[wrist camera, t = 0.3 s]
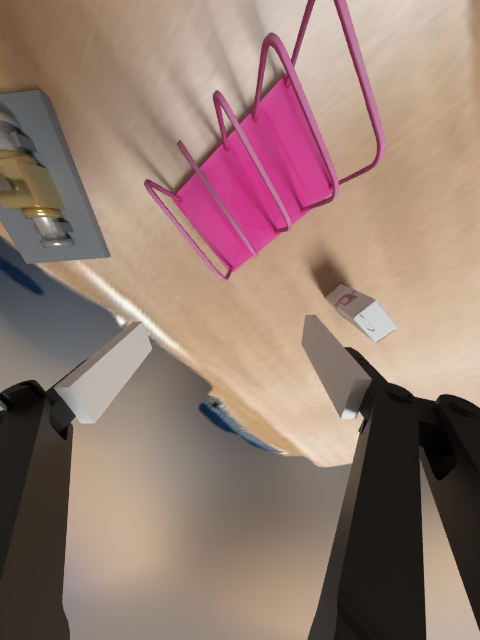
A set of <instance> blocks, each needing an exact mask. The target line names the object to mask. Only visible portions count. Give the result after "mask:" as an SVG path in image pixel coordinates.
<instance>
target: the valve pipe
mask: <svg viewBox="0 0 480 640" xmlns="http://www.w3.org/2000/svg"><path fill="white" fill-rule="evenodd" d="M20 130H21V129H20V127H19V125H18V123H17V121H16V119H15V117H14V116H13V115H11V114H10V113H8V112H6V111H4V110H1V109H0V173H3V175H4V176H5V177H6V178H8V179H9V180H10V181H11V183H12V184H13V187H14V190H13V191H12V192H6V191H0V203H1V205H2V206H3V208H4V209H10V210H19V211H22V212H23V214H24V216H25V218H26V219H30V220H33V222H34V224H32V226H33V228H34V230H35V232H36V234H40V235H41V237H42V239H43V240H42V241H40V242H41V244H42V246H43V248H48V247H61V246H73V245H74V243H73V241H72V239H68V237H67V235H66V233H68V232H74V231H73V229H72V226H71V224H70V223H63V222H60V220H59V219H64V218H63V216H62V214H61V212H60V210H66V209H65V206H64V204H63V202H62V200H61V197H60V195H59V193H58V191H57V189H56V186H55V184H54V182H53V180H52V177H51V175H50V173H49V171H48V169H46V168H43V167H40V166H39V164H38V162H37V160H36V158H35V157H33V156H31V155H28V154H30V153H38V151H37V149H36V147H35V145H34V143H33V140H32V139H29V138H27V137H25V136H23V135H20V134H18V132H17V131H20Z"/></svg>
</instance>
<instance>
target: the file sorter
mask: <svg viewBox="0 0 480 640" xmlns="http://www.w3.org/2000/svg"><path fill="white" fill-rule="evenodd" d="M314 2H315V0H308V2H307V6H306V9H305V12H304V16H303V19H302V23H301V27H300V30H299V34H298V37H297V41H296V44H295V48H294V51H293V55H292V58H291V60H290V58H289V55H288V53H287V51H286V49H285V47H284V45H283V43H282V41H281V40H280V38H279V37H278V36H277V35H276V34H274V33H269V34H268V35H267V36H266V38H265V39H264V41H263V44H262V49H261V56H260V64H259V71H258V80H257V88H256V96H255V105H254V109H253V110H252V111H251V112H250V113H249V114H248V115H247V117H246V118H245V119H244V120H243V121H242V122H241V123H240V124H239V122H238V121H237V119H236V117H235V115H234V113H233V111H232V110H231V108H230V106H229V104H228V103H227V101H226V100H225V98H224V97H223V95H222V94H221V93H220V92H219V91H218V90H216V91H215V93H214V94H213V100H214V105H215V109H216V114H217V118H218V122H219V126H220V130H221V135H222V139H223V143H222V144H221V145H220V146H219V147H218V148H217V149H216V151H215V152H214V153H213V154H212V155H211V156H210V157H209V158H208V159H207V161H206V162H205V163H204V164H203V165H202V166H201V167H200V168H199V167H198V166H197V164H196V163H195V161H194V160H193V158H192V157H191V155H190V154H189V153H188V151H187V150H186V148H185V146H184V145H183V144H182V142H181V141H180V140H179V141H178V143H177V145H178V146H179V148H180V149H181V151H182V152H183V154H184V155H185V157H186V158H187V160H188V161H189V163H190V164H191V166H192V167H193V169H194V170H195V174H194V175H193V176H192V177H191V178H190V179H189V180H188V181H187V182H186V183H185V185H184V186H183V187H182V188H181V189H180V190H179V191H178V192H177V193H176V195H175V194H173V193H171V192H170V191H168V190H166V189H164V188H163V187H161V186H159V185H158V184H156V183H154V182H152V181H151V180H148V179H146V180H145V182H144V185H145V187H146V189H147V191H148V192H149V194H150V195H151V196H152V198H153V199H154V200H155V201H156V203H157V204H158V205H159V206H160V208H161V209H162V210H163V211H164V213H165V214H166V215H167V216H168V217H169V219H170V220H171V221H172V222H173V224H174V225H175V226H176V227H177V228H178V230H179V231H180V232H181V233H182V235H183V236H184V237H185V238H186V240H187V241H188V242H189V243H190V244H191V246H192V247H193V248H194V249H195V251H196V252H197V253H198V254H199V256H200V257H201V258H202V259H203V260H204V262H205V263H206V264H207V265H208V267H209V268H210V269H211V270H212V271H213V272H214V274H215V275H216V276H217V277H218V278H220V279H221V280H222V281H227V280H228V279H229V277H230V274H231V273H232V272H234V271H235V270H236V269H237V268H239V267H240V266H241V265H242V264H244V263H245V262H246V261H247V260H249V259H250V258H251V257H252V256H254V257H255V258H257V257H258V255H257V252H259V251H260V250H261V249H263V248H264V247H265V246H266V245H267V244H269V243H270V242H271V241H272V240H274V239H275V238H276V237H277V236H279V235H280V234H281V233H283V232H285V231H288V230H290V229H291V227H292V225H293V224H294V223H295V222H296V221H298V220H299V219H300V218H301V217H303V216H304V215H305V214H306V213H308V212H309V211H310V210H311V209H313V208H315V207H318V206H321V205H324V204H327V203H329V202H331V201H333V200H334V199H335V198H336V197H337V195H338V191H339V185H340V184H342V183H345V182H347V181H349V180H351V179H353V178H355V177H357V176H359V175H361V174H364V173H365V172H367V171H369V170H371V169H372V168H374V167H375V166H376V165H377V164H378V163H379V162H380V160H381V159H382V156H383V153H384V148H385V137H384V132H383V128H382V124H381V120H380V117H379V113H378V110H377V106H376V103H375V99H374V96H373V92H372V89H371V85H370V82H369V79H368V75H367V72H366V68H365V65H364V61H363V58H362V54H361V51H360V47H359V44H358V40H357V37H356V34H355V30H354V27H353V24H352V20H351V17H350V13H349V10H348V7H347V3H346V0H334V3H335V6H336V9H337V12H338V15H339V18H340V21H341V24H342V28H343V31H344V35H345V38H346V41H347V44H348V48H349V51H350V54H351V57H352V60H353V64H354V67H355V70H356V73H357V76H358V79H359V82H360V86H361V89H362V92H363V95H364V99H365V102H366V107H367V110H368V113H369V116H370V120H371V123H372V126H373V130H374V133H375V136H376V141H377V154H376V158H375V160H374V161H373V163H372V164H370V165H368V166H366V167H365V168H363V169H361V170H359V171H357V172H355V173H353V174H352V175H349V176H348V177H346V178H344V179H342V180H340V181H338V178H337V174H336V171H335V169H334V166H333V164H332V161H331V159H330V156H329V154H328V151H327V149H326V146H325V144H324V141H323V139H322V136H321V134H320V131H319V129H318V126H317V124H316V121H315V119H314V116H313V114H312V111H311V109H310V106H309V104H308V101H307V99H306V97H305V94H304V92H303V89H302V87H301V84H300V82H299V79H298V77H297V74H296V72H295V70H294V66H295V63H296V60H297V56H298V53H299V50H300V47H301V43H302V40H303V37H304V34H305V30H306V27H307V24H308V21H309V18H310V15H311V11H312V8H313V5H314ZM269 46H272V47H273V48H274V49H275V50H276V52H277V54H278V56H279V58H280V60H281V62H282V64H283V66H284V68H285V71H286V74H285V75H284V76H283V77H282V78H281V79H280V80H279V81H278V83H277V84H276V85H275V86H274V87H273V88H272V89H271V90H270V91H269V92H268V93H267V95H266V96H265V97H264V98H263V99H262V100H261V101H260V96H261V90H262V83H263V77H264V70H265V64H266V57H267V52H268V47H269ZM220 105H221V106H222V108H223V109H224V111H225V113H226V114H227V116H228V118H229V120H230V121H231V123H232V125H233V127H234V128H235V130H234V131H233V132H232V133H231V134H230V135H229V136H228V137H226V132H225V127H224V122H223V117H222V111H221V106H220ZM152 187H153V188H155V189H157V190H158V191H160V192H162V193H164V194H166V195H168V196H170V197H172V198H173V201H174V202H175V203H176V205H177V206H178V207H179V209H180V210H181V211H182V212H183V214H184V215H185V216H186V218H187V219H188V220H189V221H190V223H191V224H192V225H193V226H194V228H195V229H196V230H197V232H198V233H199V234H200V235H201V237H202V238H203V239H204V240H205V242H206V243H207V244H208V246H209V247H210V248H211V249H212V251H213V252H214V253H215V254H216V256H217V257H218V258H219V259H220V261H221V262H222V263H223V265H224V266H225V267H226V268H227V270H228V273H227V275H226V277H224V276H223V275H222V274H220V273H219V272H218V271H217V269H216V268H215V267H214V266H213V264H212V263H211V262H210V261H209V260H208V258H207V257H206V256H205V254H204V253H203V252H202V251H201V250H200V248H199V247H198V246H197V244H196V243H195V242H194V241H193V240H192V238H191V237H190V236H189V234H188V233H187V232H186V231H185V230H184V229H183V227H182V226H181V225H180V224H179V222H178V221H177V220H176V218H175V217H174V216H173V215H172V213H171V212H170V211H169V210H168V208H167V207H166V206H165V205H164V203H163V202H162V201H161V200H160V198H159V197H158V196H157V194H156V193H155V192H154V190H153V189H152ZM331 193H332V196H331V197H329V198H327V199H325V198H326V197H328V196H329V195H330V194H331Z"/></svg>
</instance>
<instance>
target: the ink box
mask: <svg viewBox="0 0 480 640" xmlns="http://www.w3.org/2000/svg"><path fill="white" fill-rule="evenodd" d="M325 299H326V300H327V301H328V302H329V303H330V304H331V305H332V306H333V307H334V308H335V309H336V310H337V312H338V313H339V314H340V315H341V316H342V317H343V318H345V319H346V320H347V321H348V322H350V323H351V324H352V325H354V326H355V327H356V328H357V329H359V330H360V331H361V332H362V333H364V334H365V335H366V336H367V337H369V338H370V339H371V340H373V341H374V342H375V343H378V342H379V341H380V340H382V339H383V338H385V337H386V336H388V335H389V334H390V333H392V332H393V331H394V330H396V329H397V328H398V327H397V325H396V324H395V323H394V322H393V320H392V319H391V318H390V317H389V315H388V314H387V313H386V312H385V310H384V309H383V308H382V307H381V305H380V304H379V303H378V302H377V300H375V299H373V298H371V297H369V296H367V295H364V294H362V293H360V292H358V291H356V290H354V289H351V288H349V287H347V286H345V285H343V284H340V285H339V286H337V287H336V288H335V289H334V290H333V291H332V292H330V293H329V294H328V295H327V296H326V297H325Z"/></svg>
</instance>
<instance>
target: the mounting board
mask: <svg viewBox="0 0 480 640" xmlns="http://www.w3.org/2000/svg"><path fill="white" fill-rule="evenodd" d="M0 109H1V110H4V111H6V112H8V113H10V114H11V115H13V116H14V117H15V119H16V121H17V123H18V125H19V127H20V129H21V130H20V131H17V132H18V134H20V135H23V136H25V137H27V138H29V139H32V140H33V143H34V145H35V147H36V149H37V151H38V153H30V154H28V155H31V156H33V157H35V158H36V160H37V162H38V164H39V166H40V167H43V168H46V169H48V171H49V173H50V175H51V177H52V180H53V182H54V184H55V186H56V189H57V191H58V193H59V195H60V197H61V200H62V202H63V204H64V206H65V209H66V210H60V212H61V214H62V216H63V218H64V219H59V220H60V222H63V223H70V224H71V226H72V229H73V231H74V232H68V233H66V235H67V237H68V239H72V241H73V243H74V245H73V246H61V247H48V248H43V246H42V244H41V242H40V241H42V240H43V239H42V237H41V235H40V234H36V232H35V230H34V228H33V226H32V224H34V222H33V220H30V219H26V218H25V216H24V214H23V212H22V211H19V210H10V209H4V208H3V206H2V205H1V203H0V221H1V222H2V224H3V226H4V227H5V229H6V231H7V232H8V234H9V236H10V237H11V239H12V240H13V242H14V244H15V245H16V247H17V249H18V250H19V252H20V254H21V255H22V257H23V258H24V260H25V262H26V263H27V264H29V263H42V262H55V261H69V260H82V259H95V258H107V257H111V256H110V253H109V251H108V248H107V246H106V243H105V240H104V238H103V235H102V233H101V230H100V228H99V225H98V222H97V220H96V217H95V215H94V212H93V210H92V207H91V205H90V202H89V199H88V197H87V194H86V192H85V189H84V187H83V184H82V181H81V179H80V176H79V174H78V171H77V169H76V166H75V163H74V161H73V158H72V156H71V153H70V151H69V148H68V145H67V143H66V140H65V138H64V135H63V133H62V130H61V127H60V125H59V122H58V120H57V117H56V115H55V112H54V110H53V107H52V104H51V102H50V99H49V97H48V96H47V95H45V94H44V93H43V92H41V91H40V90H31V91H23V92H15V93H7V94H0Z"/></svg>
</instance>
